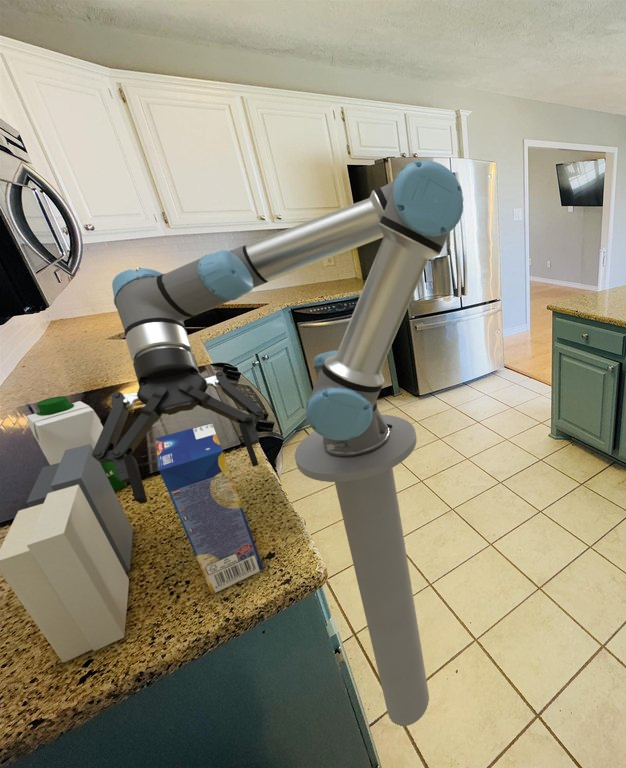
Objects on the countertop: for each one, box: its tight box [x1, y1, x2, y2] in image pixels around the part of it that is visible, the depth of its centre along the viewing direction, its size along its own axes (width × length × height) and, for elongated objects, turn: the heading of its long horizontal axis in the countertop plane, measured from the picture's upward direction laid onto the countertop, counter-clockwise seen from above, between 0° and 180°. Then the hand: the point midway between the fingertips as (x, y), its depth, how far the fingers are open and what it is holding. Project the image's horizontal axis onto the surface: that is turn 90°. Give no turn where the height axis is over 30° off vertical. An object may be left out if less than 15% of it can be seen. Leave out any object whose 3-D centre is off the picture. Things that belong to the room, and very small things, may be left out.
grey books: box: [25, 444, 134, 574], centre depth 63 cm, size 6×12×18 cm, turn 39°
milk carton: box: [26, 395, 128, 492], centre depth 80 cm, size 9×9×20 cm
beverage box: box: [155, 422, 265, 595], centre depth 62 cm, size 7×11×22 cm, turn 41°
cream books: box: [0, 485, 130, 664], centre depth 53 cm, size 6×12×18 cm, turn 39°
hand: (202, 481), depth 59 cm, fingers open, 13 cm apart
